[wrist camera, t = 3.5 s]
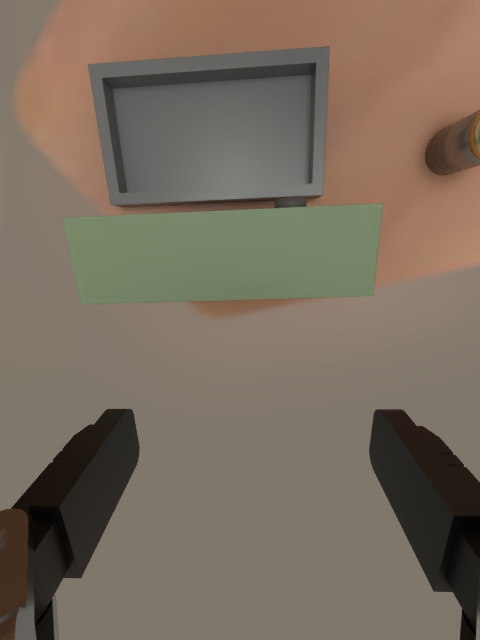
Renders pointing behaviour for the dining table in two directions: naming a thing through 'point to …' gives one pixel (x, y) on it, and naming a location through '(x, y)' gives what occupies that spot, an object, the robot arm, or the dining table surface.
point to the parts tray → (213, 127)
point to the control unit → (227, 254)
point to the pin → (455, 146)
